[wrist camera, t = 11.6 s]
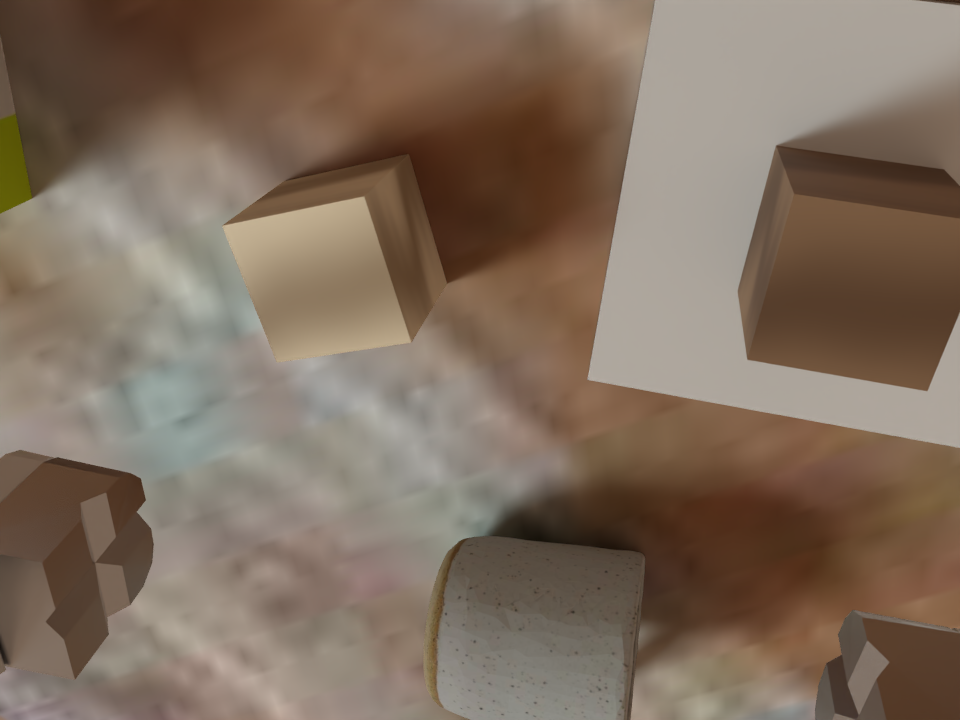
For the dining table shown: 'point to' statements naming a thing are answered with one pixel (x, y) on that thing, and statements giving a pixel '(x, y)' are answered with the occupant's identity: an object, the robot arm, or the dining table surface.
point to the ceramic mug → (534, 630)
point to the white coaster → (741, 182)
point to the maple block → (339, 260)
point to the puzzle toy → (10, 148)
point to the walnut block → (853, 268)
